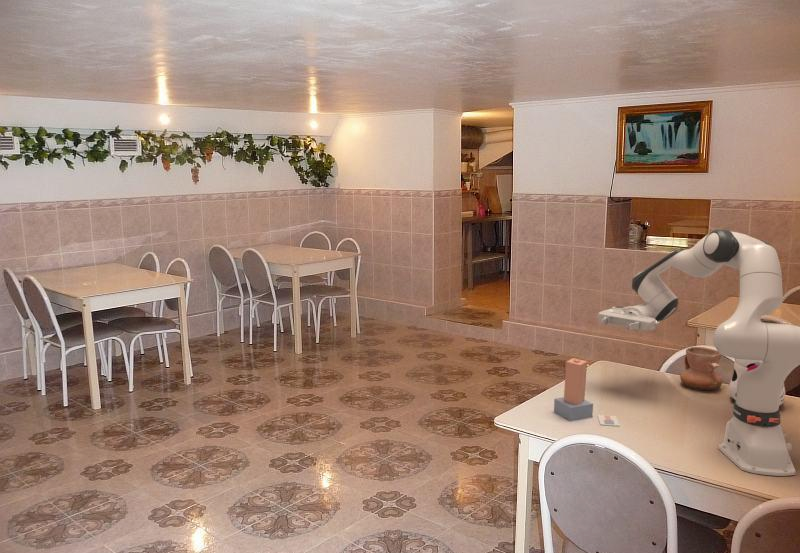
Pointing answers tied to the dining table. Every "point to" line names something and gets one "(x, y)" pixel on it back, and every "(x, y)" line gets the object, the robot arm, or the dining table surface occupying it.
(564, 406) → the base brick
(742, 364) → the milk container
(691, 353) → the ceramic jug
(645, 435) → the dining table surface
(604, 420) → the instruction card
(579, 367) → the coral brick
